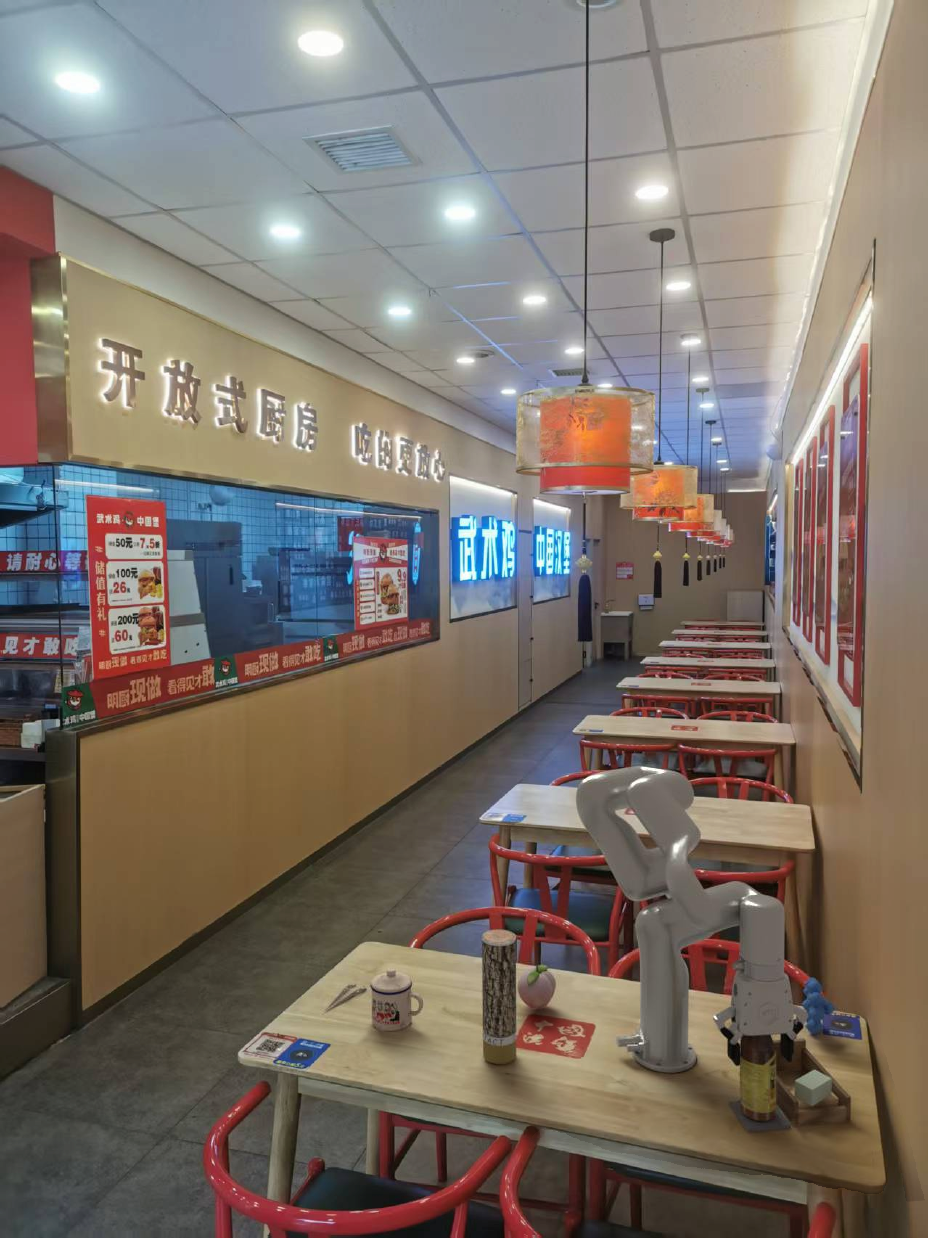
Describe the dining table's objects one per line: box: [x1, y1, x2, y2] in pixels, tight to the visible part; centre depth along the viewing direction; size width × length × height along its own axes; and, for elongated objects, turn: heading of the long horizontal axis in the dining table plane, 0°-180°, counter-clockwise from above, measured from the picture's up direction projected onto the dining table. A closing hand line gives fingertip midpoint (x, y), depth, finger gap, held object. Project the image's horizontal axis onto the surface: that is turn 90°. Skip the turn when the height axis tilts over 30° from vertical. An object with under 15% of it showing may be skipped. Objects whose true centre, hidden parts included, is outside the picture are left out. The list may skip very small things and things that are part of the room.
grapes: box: [801, 977, 836, 1036], centre depth 186 cm, size 12×7×12 cm, turn 165°
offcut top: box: [794, 1070, 832, 1106], centre depth 160 cm, size 6×4×3 cm, turn 125°
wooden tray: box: [772, 1038, 852, 1127], centre depth 165 cm, size 11×17×6 cm, turn 6°
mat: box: [728, 1099, 792, 1133], centre depth 159 cm, size 8×8×1 cm
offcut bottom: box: [790, 1090, 838, 1109], centre depth 160 cm, size 8×4×4 cm, turn 100°
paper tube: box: [481, 929, 517, 1065], centre depth 178 cm, size 7×7×25 cm
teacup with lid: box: [369, 967, 424, 1032], centre depth 192 cm, size 12×9×12 cm
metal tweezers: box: [322, 983, 368, 1015], centre depth 202 cm, size 17×5×2 cm, turn 151°
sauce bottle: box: [739, 1035, 777, 1121], centre depth 159 cm, size 7×6×20 cm
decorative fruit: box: [516, 964, 557, 1010], centre depth 198 cm, size 9×8×10 cm
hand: (760, 1059), depth 159 cm, fingers open, 9 cm apart
